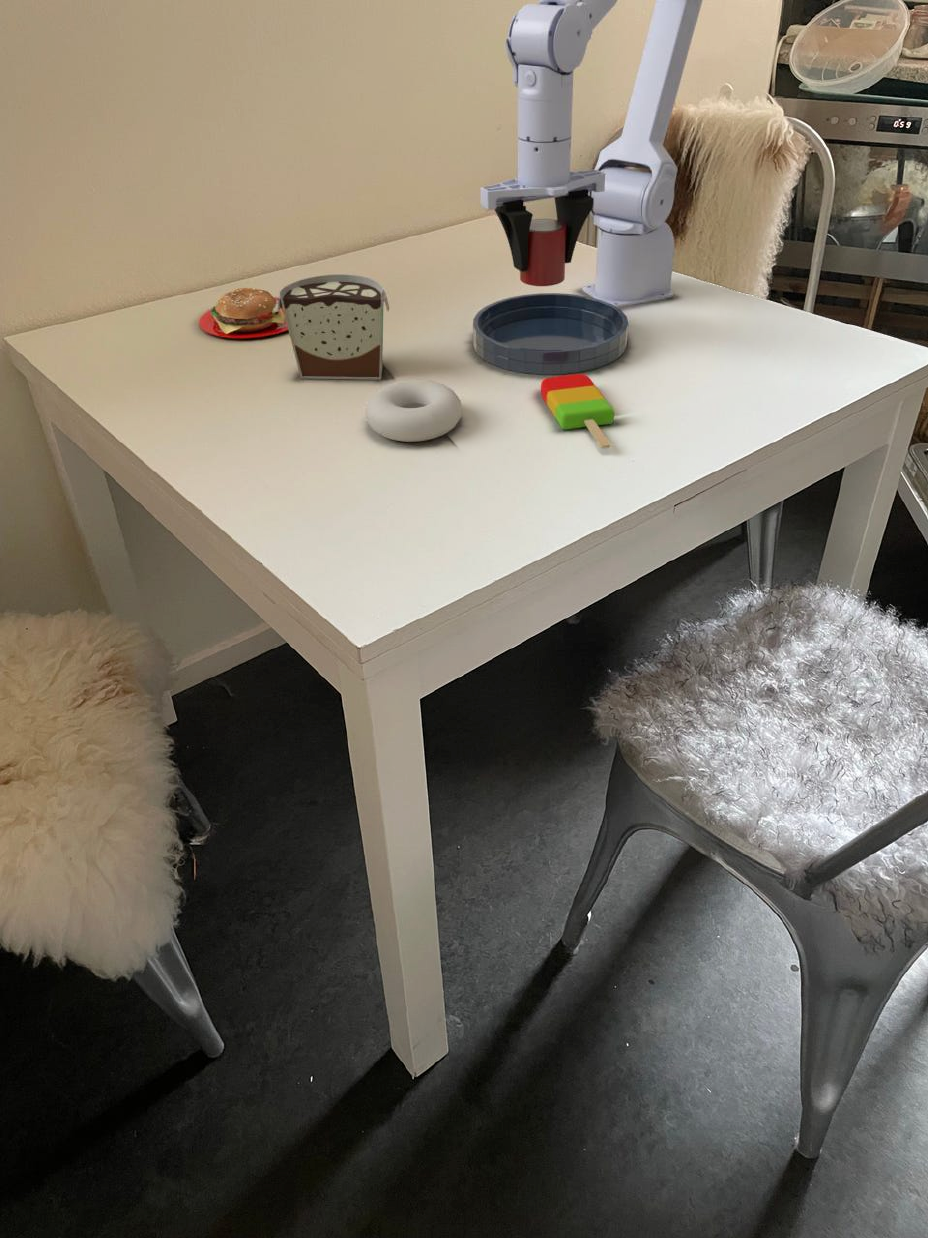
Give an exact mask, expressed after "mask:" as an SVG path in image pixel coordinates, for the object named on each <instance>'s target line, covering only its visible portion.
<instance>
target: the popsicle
mask: <svg viewBox="0 0 928 1238" xmlns="http://www.w3.org/2000/svg"><path fill="white" fill-rule="evenodd" d="M540 396H541V398H542V399H543V401H544V402H545V403H546V405H547V407H548V409H549V410H550V412H551V413H552V415H553V417H554V418H555V419H556V421H557V423H558V424H559V426H560V428H561V429H562V430H564V431H565V430H571V429H572V430H573V429H580V428H587V430H588V431H589V432H590V434H591V435H592V437H593V438H594V440H595V441H596V443H597V444H598V445H599V447H600V448H601V449H608V448H610V447H611V442H610V441H609V440H608V438H607V437H606V436H605V434H604V432H603V431H602V429H601V428H600V426H603V425H611V424H613V423H614V420H615V410H614V409H613V407H612V405H610V403H609V402H608V400H606V398H605V397H604V395H603V394H602V392H601V391H600V390H599V389H598V387H597V386H596V384H595V383H594V382H593V380H592V379H591V378H590V377H589V376H587V374H583V373H572V374H563V375H558V376H549V377H546V378H544V379H543V380H542V381H541V384H540Z"/></svg>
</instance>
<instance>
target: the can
mask: <svg viewBox="0 0 928 1238" xmlns="http://www.w3.org/2000/svg"><path fill="white" fill-rule="evenodd" d="M565 252H566V224H565V223H564V222H562V221H559V220H557V219H553V218H536V219H535V218H534V219H532V220H531V224H530V230H529V238H528V266H527V271H523V272H521V271H519V279H520V282H521V283H523V284H524V285H528V286H533V287H551V286H556V285H559V284H561V283H563V282H564V281H565V278H566V263H565Z"/></svg>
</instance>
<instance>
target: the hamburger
mask: <svg viewBox="0 0 928 1238" xmlns="http://www.w3.org/2000/svg"><path fill="white" fill-rule="evenodd" d="M198 320H199V321H198V325H199V327H200V329H201V330H203V331H204V332H205V333H207V334H210V335H212V336H216V337H220V338H229V339H251V338H261V337H267V336H271V335H277V334H280V333H283V332H287V331H289V330H288V326H287V322H286V318H285V314H284V310H283V307H282V308H281V309H280V310H278V297H277V296H276V297H275V296H273V295H272V294H271V293H270V292H269V291H268V290H266V289H258V288H253V287H246V286H245V287H240V288H235V289H231V291H228V292H226V293H224V294H223V295H221V296H220V297H219V298H218V299H217V303H216V304H215V306H213V307H212V308H210V309H209V310H207V311H206V312H205V313H203V315H202V314H201V316H200V318H199V319H198Z"/></svg>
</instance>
